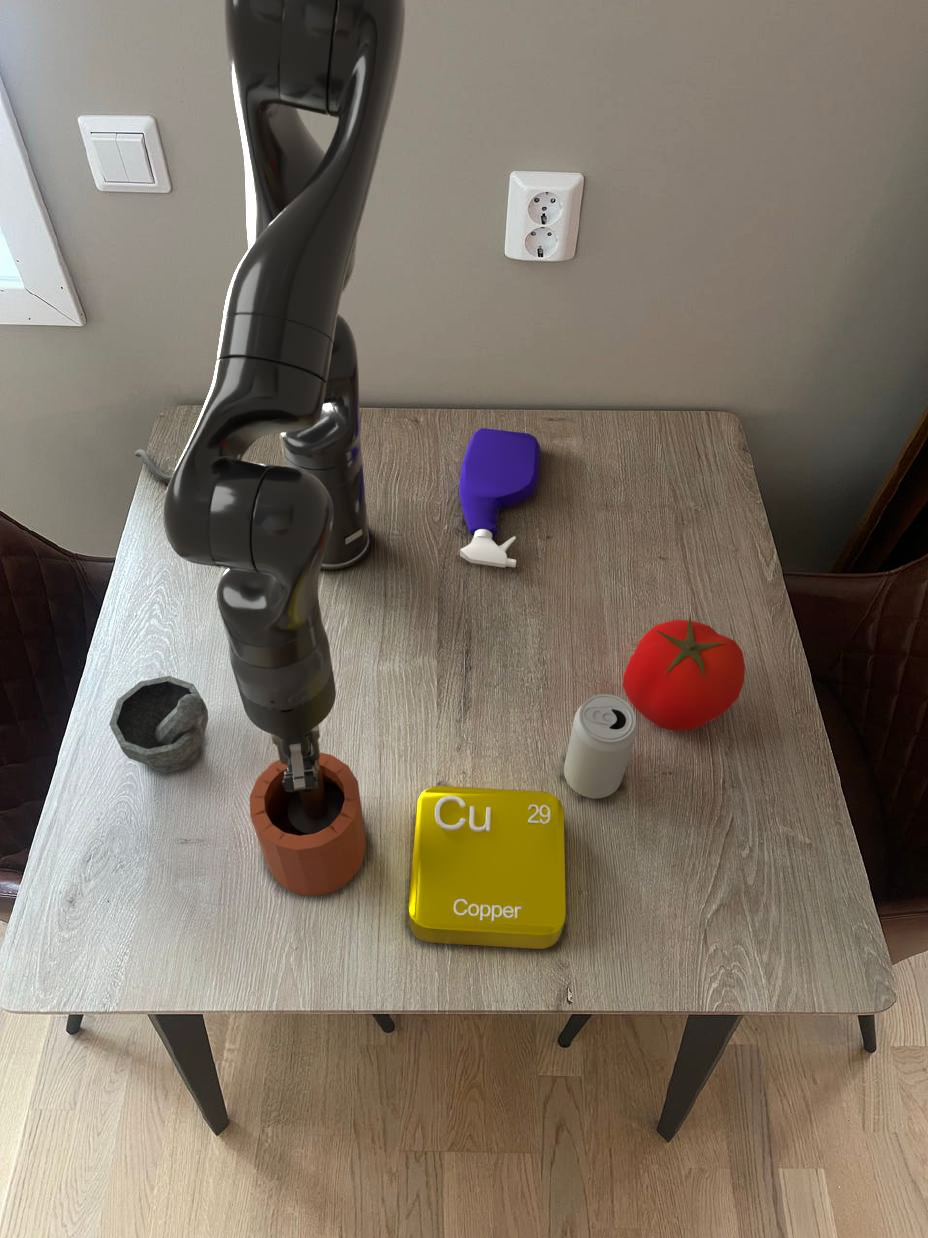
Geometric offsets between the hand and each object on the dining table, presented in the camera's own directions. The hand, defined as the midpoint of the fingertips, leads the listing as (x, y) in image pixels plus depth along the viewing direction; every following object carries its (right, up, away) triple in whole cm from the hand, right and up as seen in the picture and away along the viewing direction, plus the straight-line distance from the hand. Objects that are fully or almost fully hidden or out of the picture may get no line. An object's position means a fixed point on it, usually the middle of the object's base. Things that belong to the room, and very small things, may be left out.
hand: (306, 773), depth 86 cm
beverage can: (+29, -3, +16) cm, 33 cm away
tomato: (+39, +5, +22) cm, 45 cm away
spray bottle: (+19, +30, +42) cm, 55 cm away
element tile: (+17, -12, +9) cm, 22 cm away
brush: (0, -7, +9) cm, 11 cm away
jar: (-1, -9, +10) cm, 14 cm away
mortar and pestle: (-17, 0, +17) cm, 24 cm away
